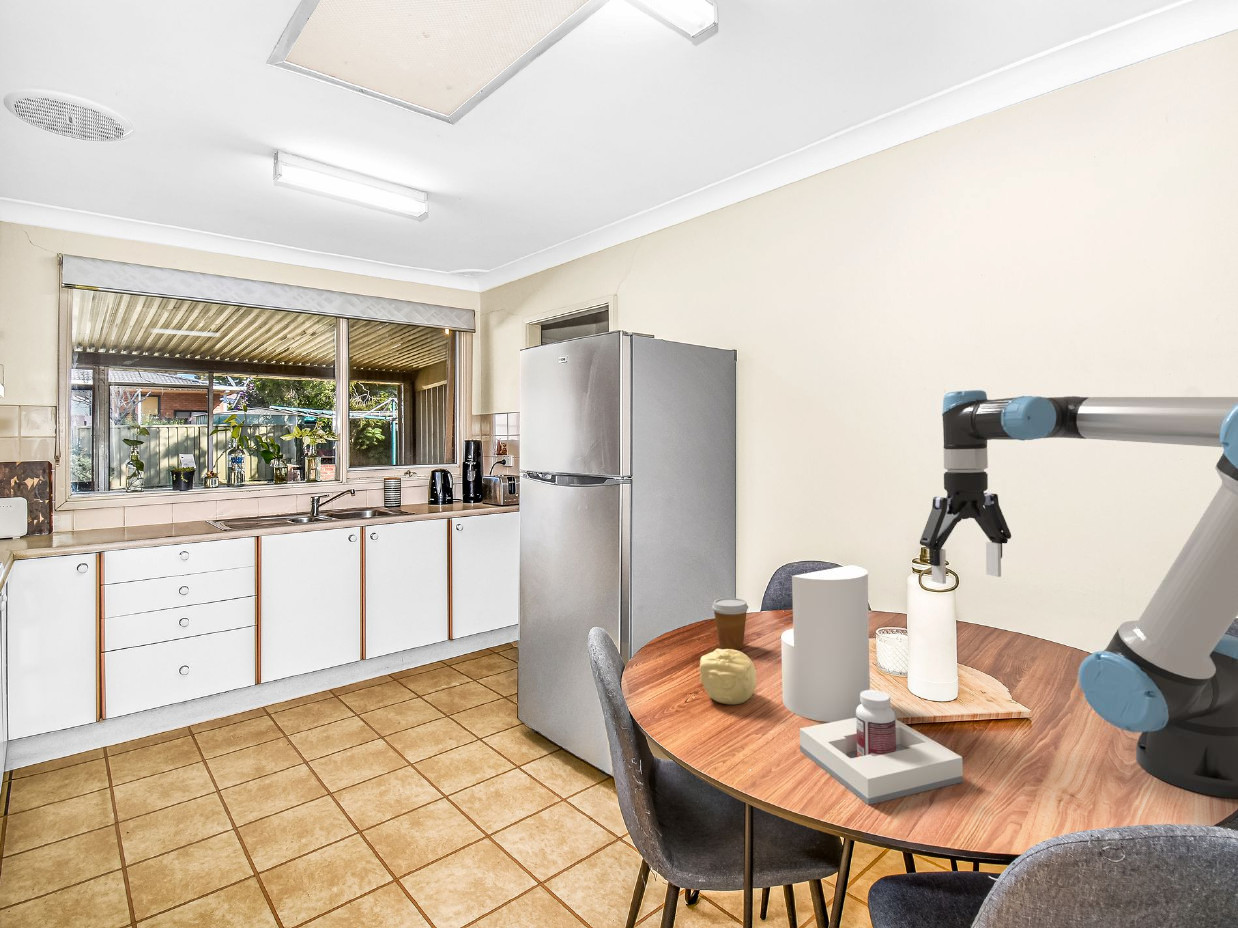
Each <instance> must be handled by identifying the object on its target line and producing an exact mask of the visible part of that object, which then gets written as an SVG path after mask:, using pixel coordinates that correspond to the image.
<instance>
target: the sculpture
mask: <svg viewBox="0 0 1238 928" xmlns="http://www.w3.org/2000/svg"><path fill="white" fill-rule="evenodd" d="M756 670H757V669H756V667H755V665H754V663H753V661H752V660H751V659H750V657H749V656H748V655H746V654H745V653H744V652H742V651H740V650H733V649H722V648H716V649H715V650H713V651H710V652H709V653H707V654H706V653H705V654H704V655H702V656H700V662H699V674H700V678H699V679H700V682H701V684H702V685H703V688H704V690H705V691H706V693H707V694H708V696H709V697H710V698H711V699H712V700H714V701H715V702H717V703H720V704H725V705H740V704H743V703H745V702H746V701H748V700H749V699H750V698H751V697H752V696H753V694H754V693H755V690H756V687H757V684H758V683H757V681H758V680H757V679H758V677H757V671H756Z"/></svg>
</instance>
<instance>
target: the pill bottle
mask: <svg viewBox="0 0 1238 928" xmlns="http://www.w3.org/2000/svg"><path fill="white" fill-rule="evenodd" d="M860 701H861V703H862V704H860V705H859V706H858V707H857V709H856V730H857V755H858V757H860V756H865V755H869V754H870V755H872V756H878V755H882V754H887V753H892V752H896V723H895V719H896V713H895V711H894V710H893V708H891V696H890V694H889V693H887V692H884V691H881V690H876V689H870V690H865V691H862V692H861V693H860Z"/></svg>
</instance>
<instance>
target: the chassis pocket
mask: <svg viewBox="0 0 1238 928" xmlns="http://www.w3.org/2000/svg"><path fill="white" fill-rule="evenodd" d="M895 723H896V752H892V753H887V754H882V755H878V756H872V755H870V754H869V755H865V756H860V757H858V755H857V730H856V718H851V719H846V720H841V721H835V722H825V723H822V724H821V723H820V724H817V725H810V726H805V727H800V728H799V751H800V752H801V753H802V754H804V755H805V756H807V758H809V759H810V760H811V761H813V762H814V763H815V764H816V765H818V766H819V767H820V768H821V769H823V770H824V771H825V772H826V773H828V775H830V776H831V777H832V778H833V779H835V780H836V781H837V782H839V783H840V784H841V785H843V786H844V787H845V788H846V789H848V791H850V792H852V794H854V795H855V796H856V797H858V798H859V800H861V801H862V802H864V803H865V804H866V805H868V806H871V805H874V804H875V805H876V804H879V803H882V802H887V801H891V800H894V799H898V798H901V797H902V798H903V797H906V796H911V795H914V794H920V793H924V792H926V791H930V790H936V789H938V788H942V787H948V786H953V785H957V784H959V783H963V778H964V777H963V774H964V773H963V757H962V755H959V754H958V753H955V752H954V751H952V750H951V749H948V748H947V747H946V746H944V745H942V744H940V743H938V742H937V741H935V740H933V739H931V738H929V737H928V736H926V735H925V734H923V733H921V732H919V731H917V730H916V729H914V728H912V727H910V726H908V725H907V724H905V723H903V722H902V721H900V720H898V719H897V718H895Z"/></svg>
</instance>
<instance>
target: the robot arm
mask: <svg viewBox="0 0 1238 928" xmlns="http://www.w3.org/2000/svg"><path fill="white" fill-rule="evenodd" d="M941 416H942V427H943V429H942V430H943V468H944V470H947V471H945V472H944V473H943V489H944V490H945V491H946V493H947V494H946V496H945V497H941V496H934V497H933V498H932V506H931V511H930V513H929V516H928V519H927V521H926V522H925V523H926V524H925V527H924V529H923V531H922V535H921V537H920V539H919V545H920V546H924V547H925V548H928V552H929V553H928V554H929V555H928V556H929V558H928V559H929V560H928V561H929V562H928V563H929V565H930V566H931V581H932V582H935V583H939V584H942V585H944V584H945V585H946V583H947V573H946V572H947V567H946V566H947V565H946V564H945V563H944V562H946V560H947V559H946V549H944V548H943V547H944V545H945V543H946V542H947V540H948V539H949V537H950V536H951V534H952V532H953V530H954V529H955V527H956V526H957V524H958V523H960V522H961V521H962V520H967V519H974V521H975V522H976V524H978V526H979V527H980V529H981V530H982V531H983V533H984V534H985V535H986V537H987V538H988V540H989V541H986V542H985V556H986V557H985V559H986V560H985V561H986V565H985V567H986V569H985V571H986V575H989V576H993V577H996V578H997V577H998V578H999V577H1000V578H1001V577H1002V559H1003V544H1007V543H1008V541H1009V540H1010V539H1011V538H1012V533H1011V531H1010V529H1009V526H1008V524H1007V521H1006V518H1005V516H1004V514H1003V511H1002V509H1001V507H1000V504H999V495H998V494H997V493H990V492H986V491H987V490H988V488H989V487H988V486H989V485H988V483H989V481H988V478H989V477H988V475H989V474H988V472H987V471H985V470H987V469H988V467H989V466H988V465H989V463H988V462H989V461H988V457H989V456H988V441H991V440H999V441H1000V440H1003V441H1005V440H1006V441H1007V440H1009V441H1011V440H1012V441H1013V440H1016V441H1017V440H1018V441H1032V440H1039V439H1049V438H1050V439H1051V438H1054V439H1055V438H1056V439H1057V438H1059V439H1061V438H1063V439H1077V440H1078V439H1084V440H1087V439H1088V440H1101V441H1102V440H1105V441H1117V442H1118V441H1119V442H1120V441H1121V442H1134V443H1149V444H1150V443H1151V444H1168V445H1180V446H1182V445H1183V446H1197V447H1214V448H1222V449H1223V450H1222V451H1223V453H1222V455H1221V456H1220V458H1219V459H1218V461H1217V463H1216V465H1215V467H1214V468H1215V470H1216V472H1217V474H1218V475H1219V477H1220V479H1221V484H1220V486H1219V488H1218V489H1217V492H1215V495H1214V496H1213V498H1212V499H1211V501H1210V503H1209V505H1208V506H1207V508H1206V509H1205V511H1204V513H1203V514H1202V516H1201V518H1200V519H1199V521H1198V523H1196V526H1195V527H1194V529H1193V530H1192V532H1191V534H1190V536H1189V537H1188V539H1187V541H1186V542H1185V544H1184V545H1183V547H1182V548H1181V550H1180V552H1179V553H1178V555H1177V557H1176V558H1175V560H1174V562H1173V563H1172V565H1171V566H1170V568H1169V570H1168V571H1167V573H1166V575H1165V576H1164V577H1163V580H1162V581H1161V582H1160V584H1159V586H1158V588H1157V589H1156V591H1155V593H1154V594H1153V595H1152V597H1151V599H1150V600H1149V602H1148V604H1147V606H1146V607H1145V609H1144V611H1143V612H1142V614H1141V616H1140V617H1139V619H1138V620H1128V621H1125V622H1123V623H1121V624H1120V625H1119V627H1118V628H1117V630H1116V631H1115V634H1113V636H1112V638H1111V640H1110V641H1109V643H1108V644H1107V646H1106V647H1105V648H1104V650H1099V651H1094V652H1093V653H1092V654H1091V653H1090V655H1087V657H1085V658H1084V659H1083V660H1082V662H1081V664H1080V665H1079V669H1078V685H1079V687H1080V689H1081V690H1082V691H1083V694H1084V696H1083V697H1084V698H1085V700H1086V702H1087V703H1088V705H1089V706H1090V707H1091V708H1092V710H1093V711H1094V712H1095V713H1096V714H1097V715H1098V716H1100V717H1101V718H1102V719H1103V720H1104V721H1106V722H1107V723H1108V724H1110V725H1112V726H1114V727H1115V728H1118V729H1120V730H1123V731H1126V732H1131V733H1140V736H1139V738H1138V740H1137V743H1136V747H1135V759H1136V763H1138V765H1139V766H1140V767H1141V768H1142V769H1143V770H1144V771H1146V772H1147V773H1149V774H1151V775H1152V776H1154V777H1155V778H1158V779H1159V780H1162V781H1164V782H1166V783H1168V784H1171V785H1174V786H1176V787H1179V788H1182V789H1184V790H1189V791H1191V792H1195V793H1199V794H1204V795H1209V796H1214V797H1219V798H1220V797H1221V798H1226V799H1227V798H1230V799H1238V637H1236V636H1233V635H1230V634H1226V633H1227V631H1228V629H1229V628H1230V627H1231V626H1232V625H1233V622H1234V621H1235V619H1236V618H1237V616H1238V396H1092V397H1088V396H1078V395H1077V396H1075V395H1074V396H1073V395H1072V396H1056V397H1045V396H1044V397H1043V396H1037V395H1035V396H1032V395H1027V396H1026V395H1025V396H1024V395H1022V396H1017V397H1008V398H1007V397H1006V398H997V399H988V397H987V392H986V391H985V390H980V389H979V390H977V389H976V390H972V389H971V390H962V391H961V390H960V391H957V390H956V391H950V392H947V393H946V394H944V397H943V403H942V413H941ZM934 550H936V551H934ZM946 563H947V562H946Z"/></svg>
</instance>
